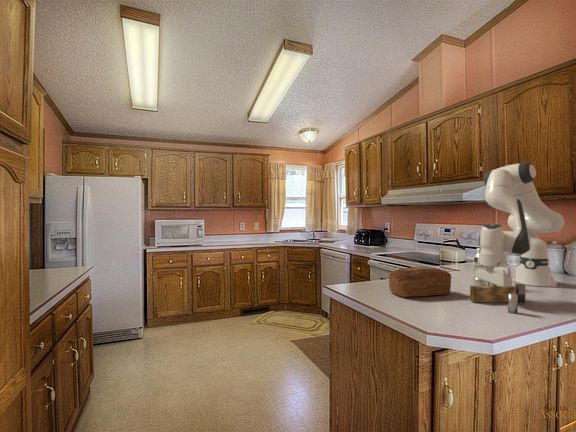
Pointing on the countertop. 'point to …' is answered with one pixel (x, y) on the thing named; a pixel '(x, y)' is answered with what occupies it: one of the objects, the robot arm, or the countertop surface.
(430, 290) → the bread
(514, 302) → the stop post
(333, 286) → the countertop surface
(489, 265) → the robot arm
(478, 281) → the plastic bottle
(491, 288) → the gate
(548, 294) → the countertop surface
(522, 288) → the pivot post
